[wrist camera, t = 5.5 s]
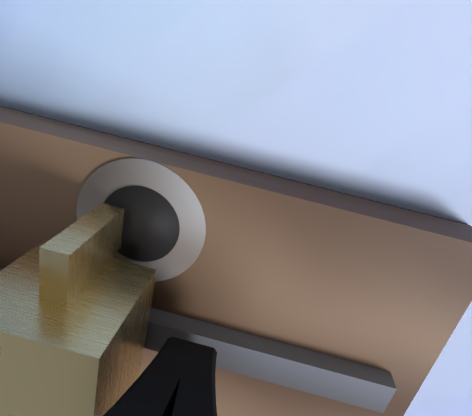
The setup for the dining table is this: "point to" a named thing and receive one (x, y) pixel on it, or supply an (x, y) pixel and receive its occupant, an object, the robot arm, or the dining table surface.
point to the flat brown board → (253, 267)
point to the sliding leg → (73, 321)
